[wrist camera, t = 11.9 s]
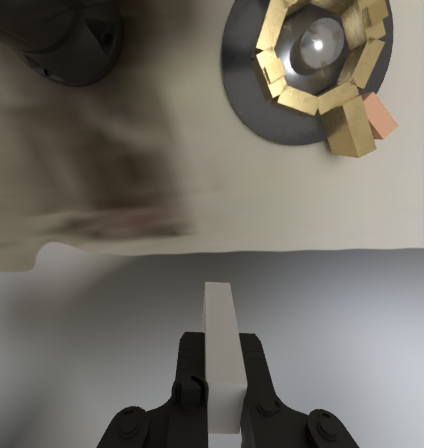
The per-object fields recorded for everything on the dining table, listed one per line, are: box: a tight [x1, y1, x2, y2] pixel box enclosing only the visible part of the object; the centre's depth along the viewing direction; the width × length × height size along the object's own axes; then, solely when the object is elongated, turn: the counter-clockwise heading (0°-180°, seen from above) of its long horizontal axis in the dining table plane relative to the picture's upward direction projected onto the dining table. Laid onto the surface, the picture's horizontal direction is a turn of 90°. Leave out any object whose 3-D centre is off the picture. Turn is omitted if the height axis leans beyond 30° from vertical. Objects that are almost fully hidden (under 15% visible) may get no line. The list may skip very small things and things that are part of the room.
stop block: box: [355, 92, 398, 139], centre depth 36 cm, size 6×2×7 cm, turn 47°
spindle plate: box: [221, 0, 393, 145], centre depth 33 cm, size 24×24×7 cm
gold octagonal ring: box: [251, 0, 389, 158], centre depth 32 cm, size 22×15×7 cm
